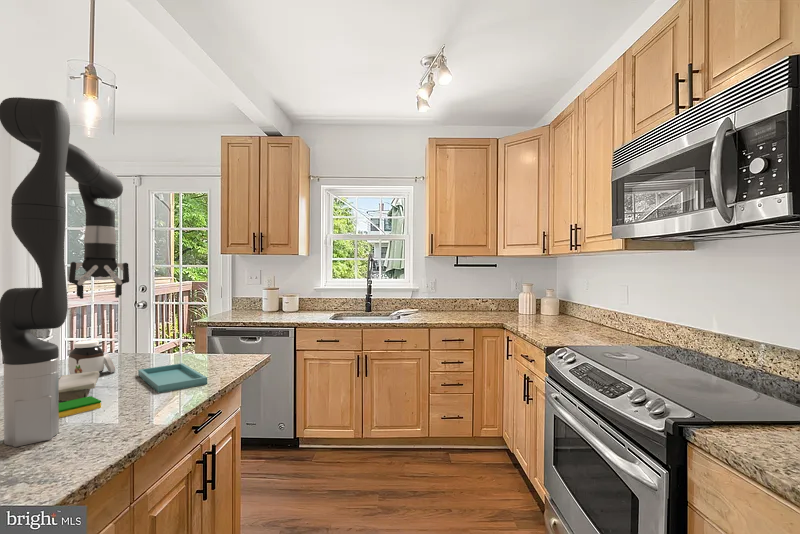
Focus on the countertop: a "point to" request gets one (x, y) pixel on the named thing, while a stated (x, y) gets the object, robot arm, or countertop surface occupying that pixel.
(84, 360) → the spread jar
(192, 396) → the countertop surface
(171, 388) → the tray
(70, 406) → the dish sponge
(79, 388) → the packaged product
